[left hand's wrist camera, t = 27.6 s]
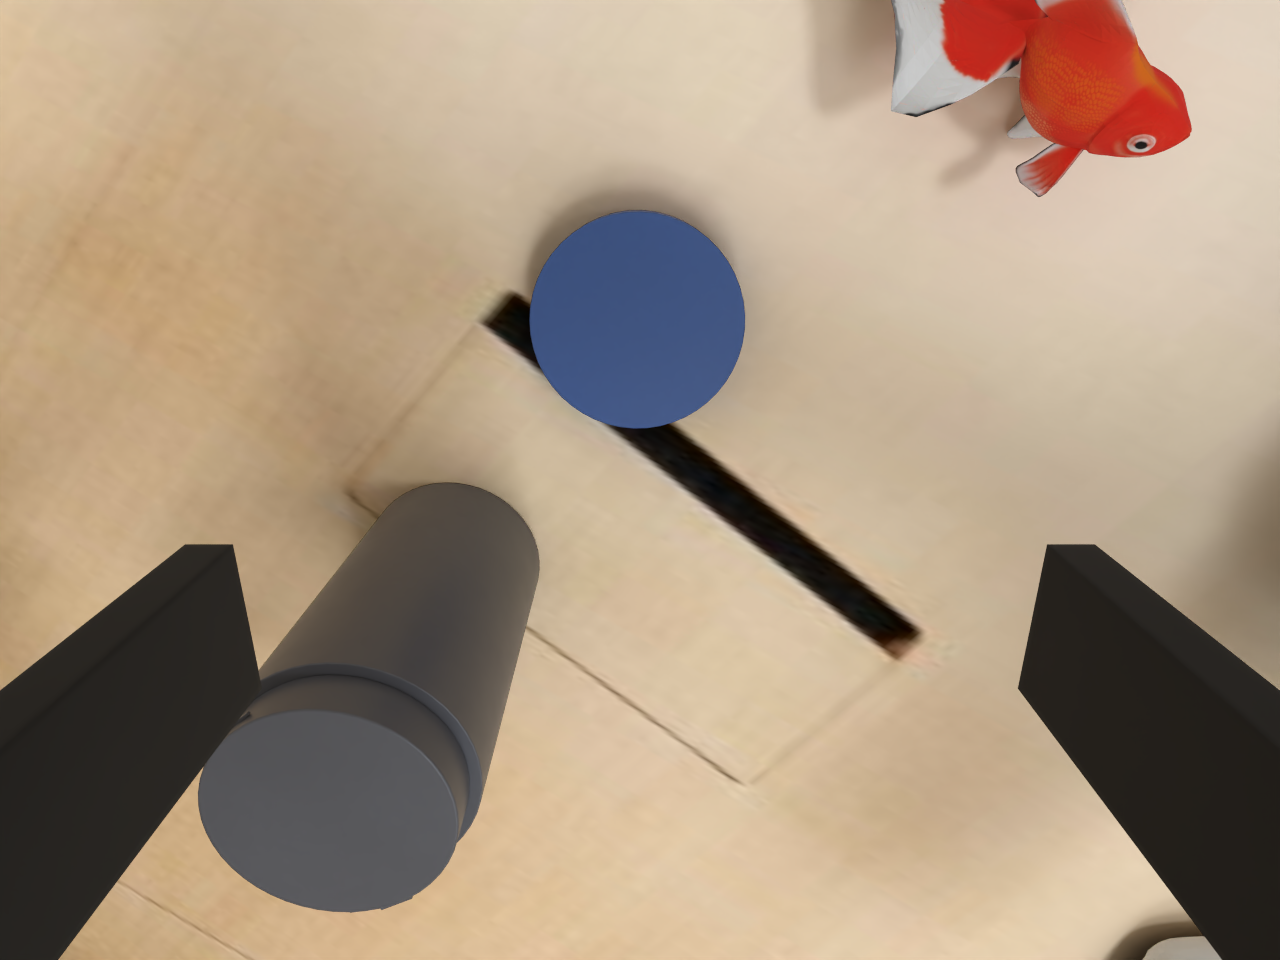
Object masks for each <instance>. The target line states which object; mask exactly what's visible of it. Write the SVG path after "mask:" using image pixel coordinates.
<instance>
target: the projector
mask: <svg viewBox="0 0 1280 960" xmlns="http://www.w3.org/2000/svg"><path fill="white" fill-rule="evenodd" d="M1142 960H1222V959H1221V958H1220V957H1219V955H1218V954H1217V953H1216V951H1215V950H1214V949H1213V947H1212V946H1211V945H1210V943H1209V942H1208V941H1207V939H1206V938H1205V937H1204V936H1195V937H1179V938H1170V939H1167V940H1163V941H1161V942H1159V943H1157V944H1156V945H1154V946H1153V947H1151V948H1150V949H1149V950H1148V951H1147V953H1146V955H1145V957H1144V958H1143V959H1142Z"/></svg>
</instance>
